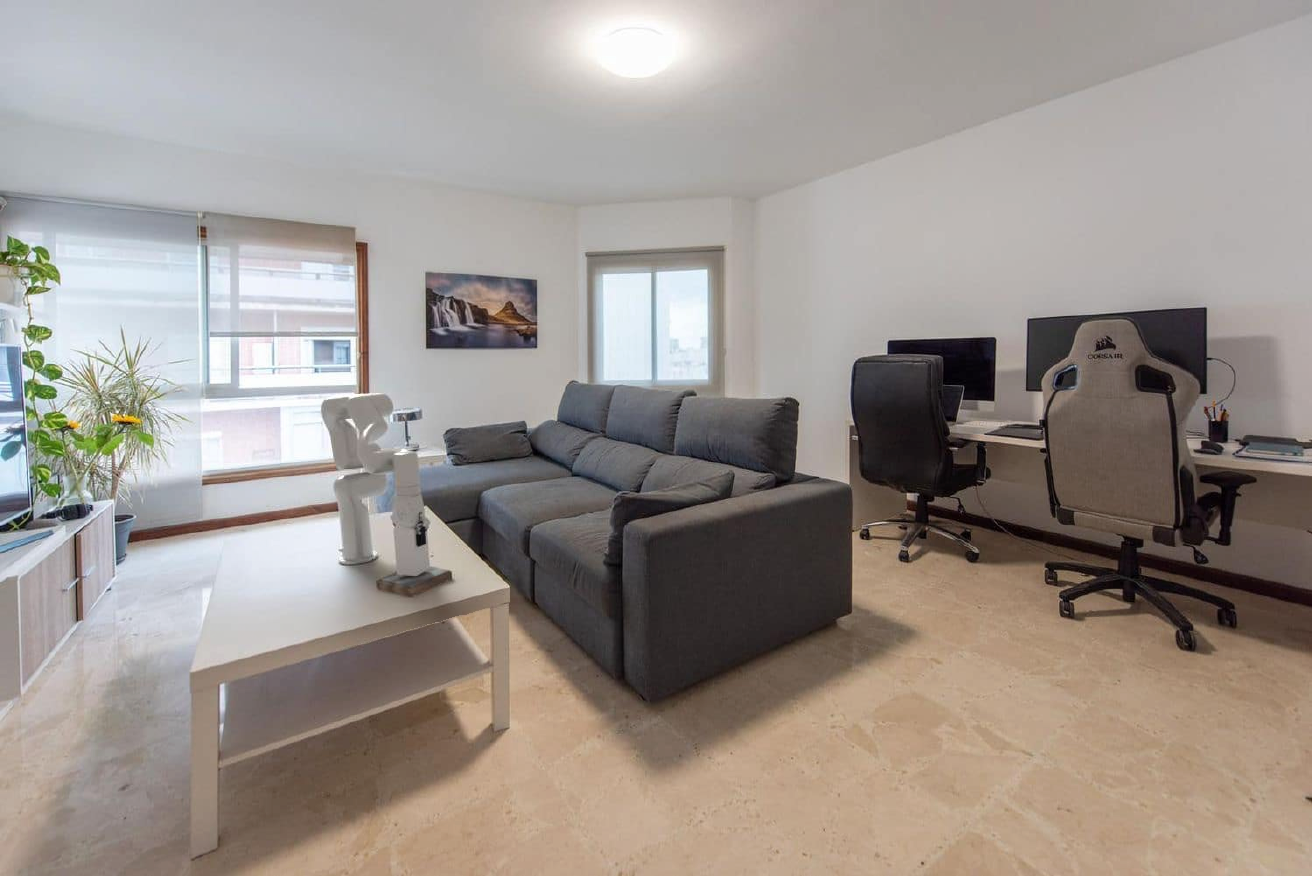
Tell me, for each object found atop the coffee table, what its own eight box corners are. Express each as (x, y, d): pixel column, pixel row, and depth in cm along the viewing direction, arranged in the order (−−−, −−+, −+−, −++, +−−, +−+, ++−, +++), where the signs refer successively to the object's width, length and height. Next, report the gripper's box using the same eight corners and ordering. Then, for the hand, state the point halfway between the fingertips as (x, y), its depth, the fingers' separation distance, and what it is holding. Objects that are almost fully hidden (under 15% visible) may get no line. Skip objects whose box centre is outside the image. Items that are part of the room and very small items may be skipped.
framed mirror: (376, 588, 180) (375, 579, 180) (418, 571, 194) (417, 563, 194) (411, 597, 173) (411, 587, 173) (452, 578, 187) (451, 570, 187)
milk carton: (416, 576, 179) (412, 518, 177) (396, 575, 181) (392, 517, 178) (430, 568, 186) (426, 512, 184) (410, 567, 188) (406, 511, 185)
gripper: (378, 490, 180) (383, 543, 183) (417, 495, 173) (421, 550, 175) (398, 485, 187) (402, 536, 189) (436, 490, 179) (440, 543, 182)
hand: (411, 543), depth 182 cm, fingers closed on milk carton, 8 cm apart
